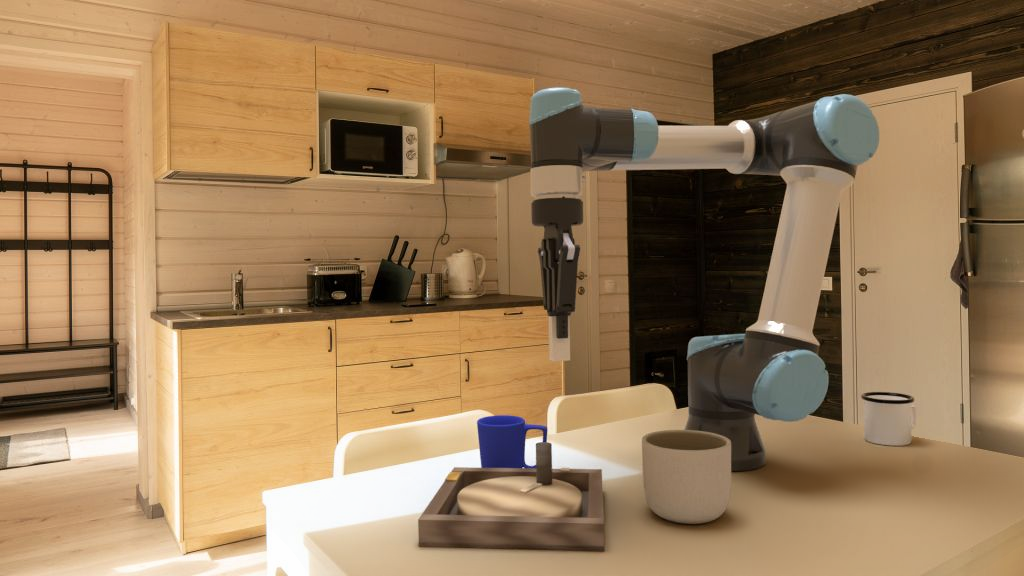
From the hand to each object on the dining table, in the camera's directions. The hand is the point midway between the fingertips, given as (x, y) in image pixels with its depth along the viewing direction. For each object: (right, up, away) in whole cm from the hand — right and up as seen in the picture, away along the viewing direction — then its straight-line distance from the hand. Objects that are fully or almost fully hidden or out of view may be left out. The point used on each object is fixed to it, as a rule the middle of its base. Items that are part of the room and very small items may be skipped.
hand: (559, 360), depth 104 cm
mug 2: (+69, -20, +38) cm, 81 cm away
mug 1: (-7, -22, +17) cm, 29 cm away
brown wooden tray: (-6, -23, -1) cm, 23 cm away
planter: (+18, -22, -2) cm, 29 cm away
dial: (-6, -23, -1) cm, 23 cm away
